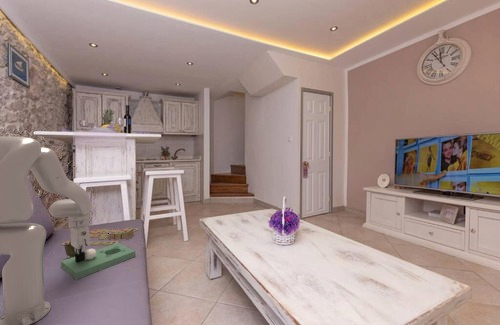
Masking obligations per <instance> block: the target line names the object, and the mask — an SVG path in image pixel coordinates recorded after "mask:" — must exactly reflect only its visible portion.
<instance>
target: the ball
mask: <svg viewBox="0 0 500 325" xmlns="http://www.w3.org/2000/svg"><path fill="white" fill-rule="evenodd" d="M96 250H97V249H95V248H88V249H86V251H85V259H87V260H91V259H93V258H94V257H95V256H96Z"/></svg>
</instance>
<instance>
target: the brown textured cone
mask: <svg viewBox="0 0 500 325" xmlns="http://www.w3.org/2000/svg"><path fill="white" fill-rule="evenodd" d="M64 251H65V255H66V256H67V257H69V258H72V257H75V254H76V253H75V248H74V247H73V246H72V245H71V242H69V244H67V243H66V244H64Z"/></svg>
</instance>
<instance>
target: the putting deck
mask: <svg viewBox="0 0 500 325" xmlns="http://www.w3.org/2000/svg"><path fill="white" fill-rule="evenodd" d="M95 250H96V256H95V257H94V258H93V259H91V260H87V259H85V260H84V261H81V262H78V263H77V262H75V257H72V258H70V257H69V258H66V259H63V260H61V261H60V267H61V269H63V270H64V271H65V272H66V273H68V274H69V275H70V276H71V277H73V278H74V279H75V280H79V279H81V278H84V277H86V276H89V275H91V274H94V273H97V272H100V271H102V270H105V269H107V268H110V267H112V266H115V265H117V264H120V263H122V262H125V261H128V260H131V259H133V258H135V257H136V250H134V249H132V248H130V247H128V246H126V245H124V244H122V243H116V244H113V245H106V246H105V247H101V248H98V249H95Z"/></svg>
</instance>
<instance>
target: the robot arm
mask: <svg viewBox="0 0 500 325" xmlns="http://www.w3.org/2000/svg"><path fill="white" fill-rule="evenodd" d="M57 155H58V154H57V153H56V151H54V149H52V148H50V147H45V146H42V144H41V143H40V142H39V140H38V139H35V138H32V137H26V136H13V135H12V136H5V135H4V136H0V256H1V255H10V257H9V259H7V261H6V263H5V264H4V265H3V267H2V270H1V277H2V297H3V298H2V299H3V316H1V317H0V325H30V324H31V325H32V324H35V323H36V322H39V320H41V319H43V318H44V317H45V316H46V315H48V314H49V312H50V310H51V306H52V305H51V303H50V302H49V301H47V300H45V276H44V271H45V270H44V251H45V250H44V249H45V244H46V243H45V242H46V239H47V230H46V228H45V227H44V226H43V225H42V224H39V223H37V222H36V223H35V222H34V223H33V222H26V221H28V220H29V219H30V218H31V217H32V216H33V215H34V203H33V198H32V196H31V195H32V194H31V192H30V186H29V181H28V176H29V173H30V172H31V173H32V174H33V176H34V179H35V180H36V181H37V183H38V185H39V186H40V188H41V189H42V190H44V191H45V192H48V193H51V194H54V195H59V196H62V197H65V199H58V200H56V201H54V202H53V203H51V205H50V206H49V210H48V211H49V214H50V215H51V217H54V218H59V219H60V218H62V219H63V218H67V219H68V228H69V229H70V234H69V236H70V237H69V240H70V242H71V245H72V246H73V247H74V248H75V253H76V254H75V262H77V263H78V262H81V261H84V260H85V251H86V250H87V248H86V247H88V248H89V247H91V245H90V242H91V237H90V235H91V234H89V231H90V229H89V225H90V216H89V215H90V213H91V211H92V209H93V208H92V201H91V199H90V196H89V194H88V192H87V191H86V190H85V189H84V188H83V187H82V186H81V185H79V184H78V183H76V182H74V181H73V180H71V179H69V178H68V177H67V175H66V172H65V169H64V168H63V165H62V164H61V162H60V161H61V160H59V157H58V156H57Z"/></svg>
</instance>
